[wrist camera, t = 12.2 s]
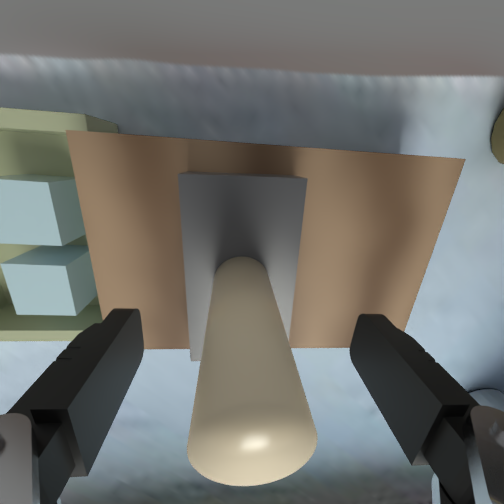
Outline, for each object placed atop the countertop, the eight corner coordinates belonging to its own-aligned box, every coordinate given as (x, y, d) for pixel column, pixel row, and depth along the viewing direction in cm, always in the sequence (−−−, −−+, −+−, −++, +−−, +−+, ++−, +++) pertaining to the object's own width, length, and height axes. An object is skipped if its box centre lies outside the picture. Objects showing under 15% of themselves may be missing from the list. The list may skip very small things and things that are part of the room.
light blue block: (65, 265, 16) (0, 263, 16) (76, 315, 17) (16, 314, 17) (96, 245, 20) (44, 243, 19) (103, 288, 21) (55, 286, 21)
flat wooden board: (398, 159, 19) (465, 158, 14) (360, 304, 24) (398, 347, 19) (118, 139, 17) (65, 129, 12) (139, 302, 22) (108, 349, 17)
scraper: (294, 175, 14) (457, 214, 4) (279, 331, 17) (338, 550, 8) (187, 171, 13) (51, 204, 3) (196, 333, 17) (147, 570, 7)
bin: (116, 124, 17) (84, 114, 13) (140, 311, 23) (122, 340, 19) (-70, 110, 16) (-162, 94, 12) (4, 310, 22) (-44, 341, 18)
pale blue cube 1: (47, 182, 14) (-27, 177, 14) (62, 246, 15) (-6, 243, 15) (86, 177, 18) (28, 173, 17) (95, 229, 19) (41, 226, 19)
